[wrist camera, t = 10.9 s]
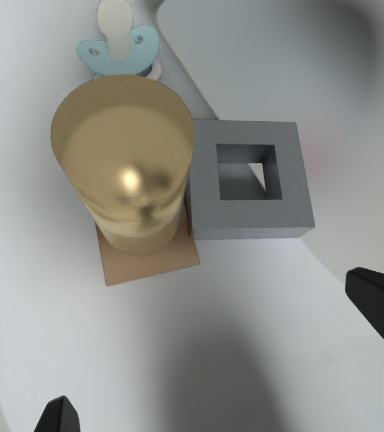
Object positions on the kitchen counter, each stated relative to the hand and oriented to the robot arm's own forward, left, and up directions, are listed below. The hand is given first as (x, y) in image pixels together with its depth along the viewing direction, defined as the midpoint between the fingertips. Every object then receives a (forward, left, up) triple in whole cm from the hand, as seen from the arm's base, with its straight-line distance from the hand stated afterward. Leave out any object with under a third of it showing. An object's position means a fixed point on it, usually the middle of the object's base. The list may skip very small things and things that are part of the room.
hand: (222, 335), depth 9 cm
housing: (+10, -7, -14) cm, 18 cm away
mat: (+8, +1, -14) cm, 16 cm away
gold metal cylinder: (+7, +2, -13) cm, 15 cm away
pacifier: (+23, 0, -14) cm, 27 cm away
